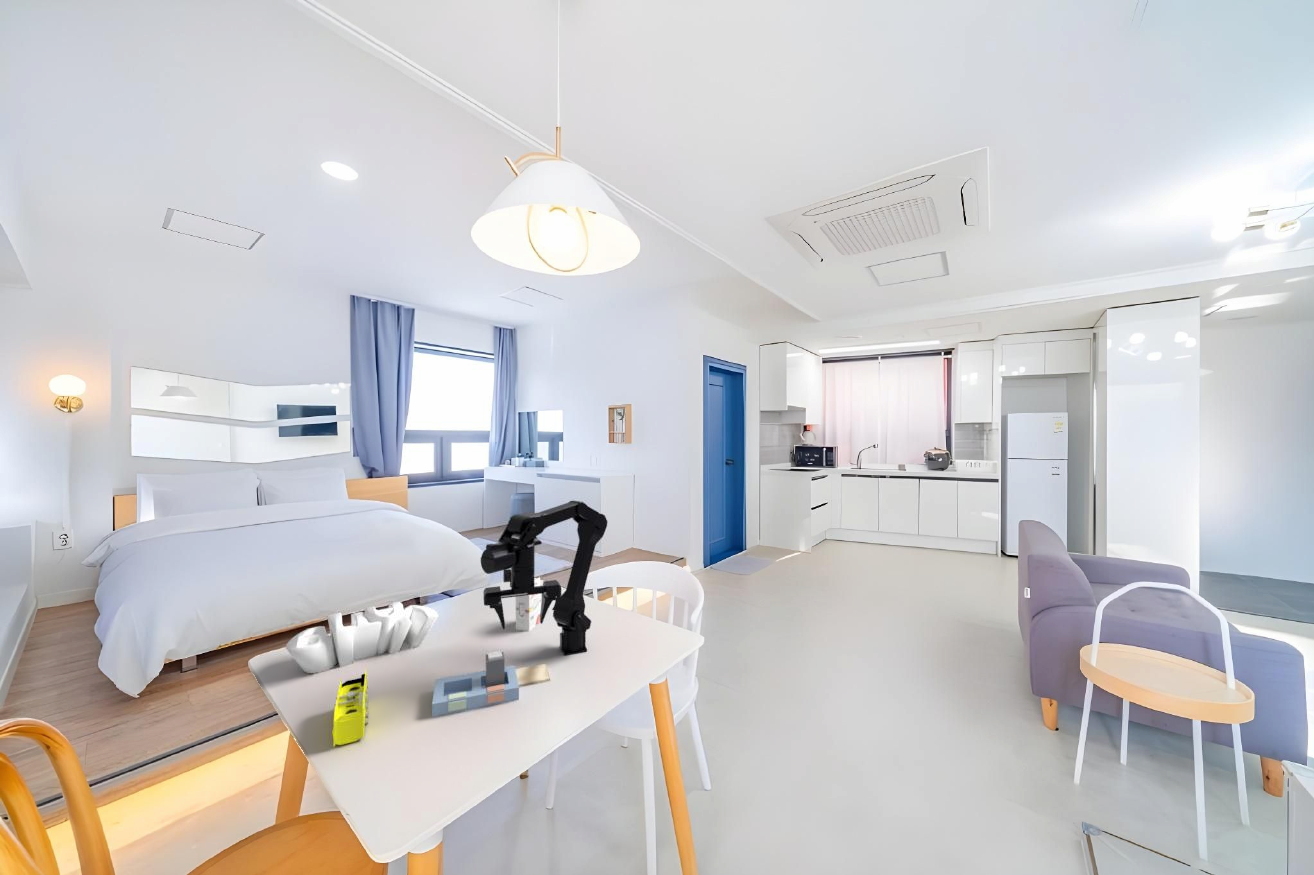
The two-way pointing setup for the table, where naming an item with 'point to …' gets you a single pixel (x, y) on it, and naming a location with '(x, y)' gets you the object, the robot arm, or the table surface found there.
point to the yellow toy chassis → (350, 711)
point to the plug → (495, 668)
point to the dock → (472, 692)
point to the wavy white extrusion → (361, 636)
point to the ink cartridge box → (528, 610)
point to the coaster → (532, 675)
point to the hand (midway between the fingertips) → (522, 625)
